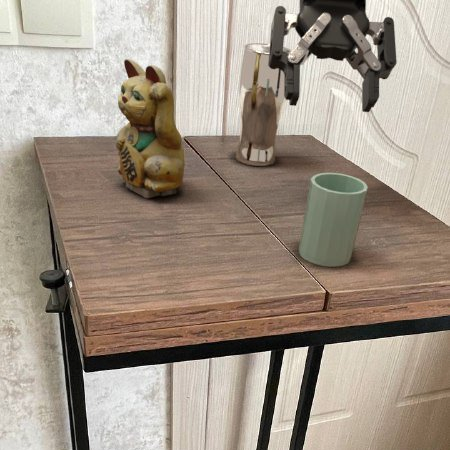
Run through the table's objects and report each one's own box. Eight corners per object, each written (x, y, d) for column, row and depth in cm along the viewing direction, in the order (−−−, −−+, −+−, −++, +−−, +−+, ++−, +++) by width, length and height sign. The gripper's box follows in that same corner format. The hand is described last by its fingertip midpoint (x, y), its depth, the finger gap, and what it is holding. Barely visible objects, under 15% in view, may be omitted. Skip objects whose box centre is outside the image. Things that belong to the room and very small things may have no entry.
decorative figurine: (105, 182, 83) (101, 55, 73) (151, 170, 88) (153, 49, 78) (155, 206, 78) (157, 74, 69) (201, 192, 83) (209, 67, 74)
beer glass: (286, 160, 96) (302, 50, 87) (263, 171, 91) (277, 56, 82) (247, 148, 99) (259, 40, 89) (223, 158, 94) (233, 46, 85)
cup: (344, 244, 74) (360, 174, 69) (355, 268, 70) (373, 195, 65) (295, 241, 74) (307, 171, 69) (302, 265, 69) (316, 191, 64)
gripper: (278, -62, 68) (275, 79, 66) (404, -48, 69) (405, 91, 68) (266, -11, 75) (263, 118, 74) (380, 1, 77) (381, 127, 75)
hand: (331, 105), depth 71 cm, fingers open, 8 cm apart
